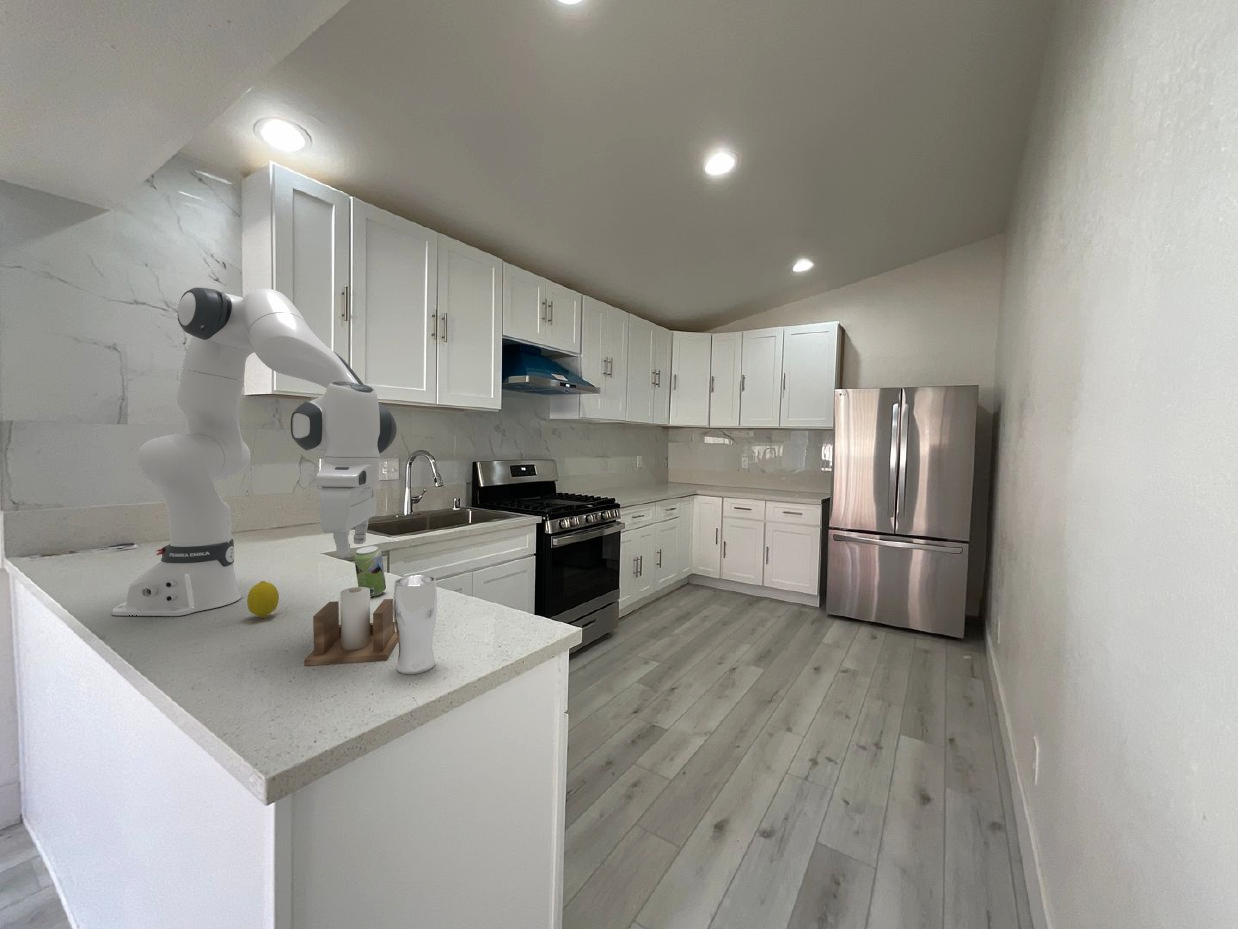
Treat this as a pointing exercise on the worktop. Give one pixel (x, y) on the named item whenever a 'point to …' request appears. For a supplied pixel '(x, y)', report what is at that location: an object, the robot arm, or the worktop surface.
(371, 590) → the beverage can
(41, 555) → the worktop surface
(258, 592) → the lemon
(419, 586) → the beer glass
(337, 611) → the holder
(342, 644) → the roll
